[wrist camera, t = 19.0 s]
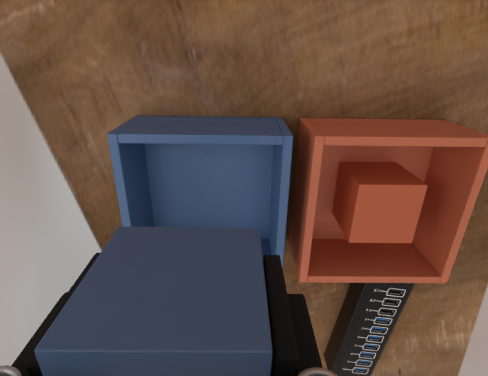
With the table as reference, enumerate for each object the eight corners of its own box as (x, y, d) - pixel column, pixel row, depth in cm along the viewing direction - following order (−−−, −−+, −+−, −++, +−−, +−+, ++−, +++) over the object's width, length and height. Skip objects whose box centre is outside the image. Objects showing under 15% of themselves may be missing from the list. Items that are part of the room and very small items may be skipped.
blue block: (259, 227, 10) (272, 352, 6) (254, 329, 12) (262, 478, 8) (118, 225, 10) (32, 350, 6) (135, 328, 12) (78, 479, 8)
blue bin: (282, 117, 24) (293, 135, 19) (274, 241, 28) (281, 282, 23) (135, 115, 24) (106, 133, 19) (151, 240, 28) (131, 281, 23)
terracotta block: (396, 162, 25) (428, 185, 21) (385, 212, 27) (412, 243, 22) (339, 161, 25) (359, 184, 20) (331, 212, 27) (348, 243, 22)
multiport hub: (323, 357, 35) (328, 377, 32) (363, 250, 29) (372, 266, 27) (361, 361, 35) (368, 381, 33) (408, 256, 29) (421, 272, 27)
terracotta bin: (444, 119, 24) (499, 138, 19) (410, 242, 28) (447, 283, 23) (299, 117, 24) (315, 136, 19) (288, 241, 28) (299, 282, 23)
